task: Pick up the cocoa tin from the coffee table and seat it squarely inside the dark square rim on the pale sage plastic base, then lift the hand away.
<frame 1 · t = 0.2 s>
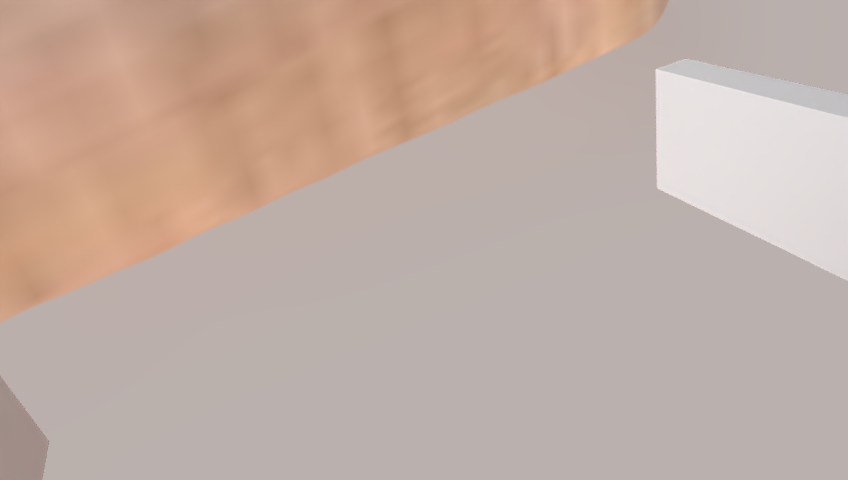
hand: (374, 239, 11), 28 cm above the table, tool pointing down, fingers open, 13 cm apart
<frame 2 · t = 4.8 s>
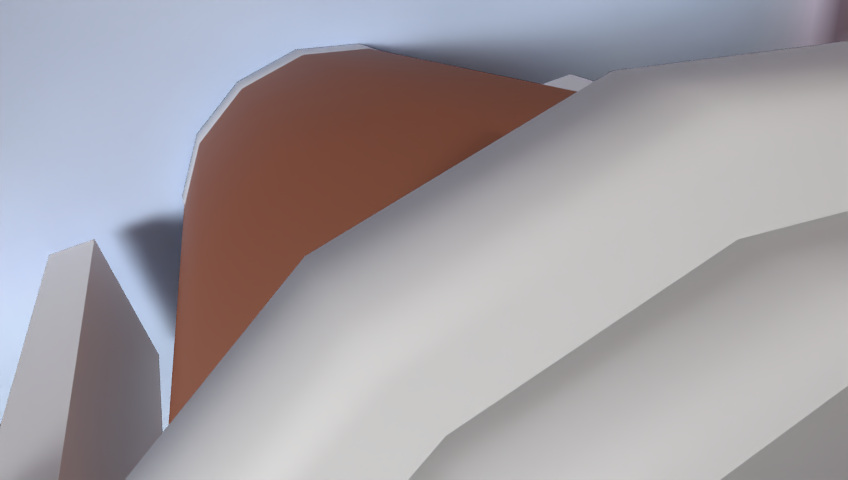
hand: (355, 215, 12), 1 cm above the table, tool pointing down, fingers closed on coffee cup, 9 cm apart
coffee cup: (339, 194, 13), on the table, touching gripper
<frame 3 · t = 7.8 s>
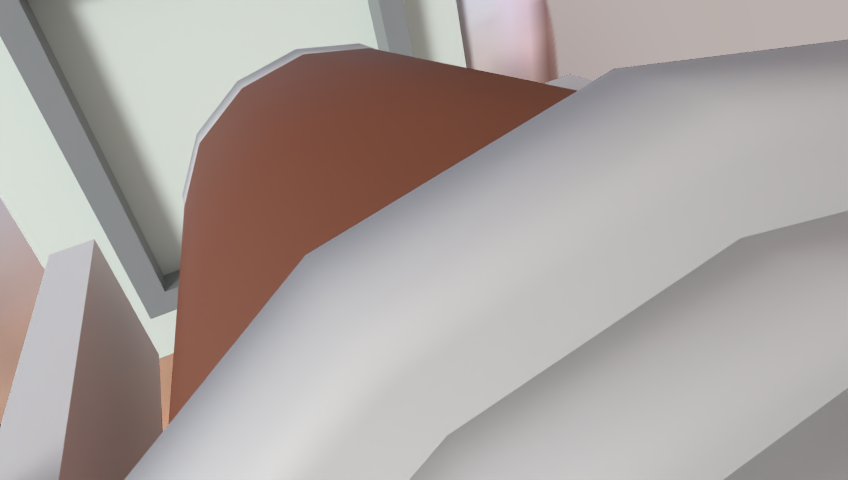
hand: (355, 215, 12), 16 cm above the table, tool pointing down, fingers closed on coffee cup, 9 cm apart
coffee cup: (339, 194, 13), point 15 cm above the table, touching gripper
square seat: (248, 103, 26), on the table
when the fingers open (3 cm above the table, at t = 10.8 s): coffee cup drops 2 cm, resting on square seat.
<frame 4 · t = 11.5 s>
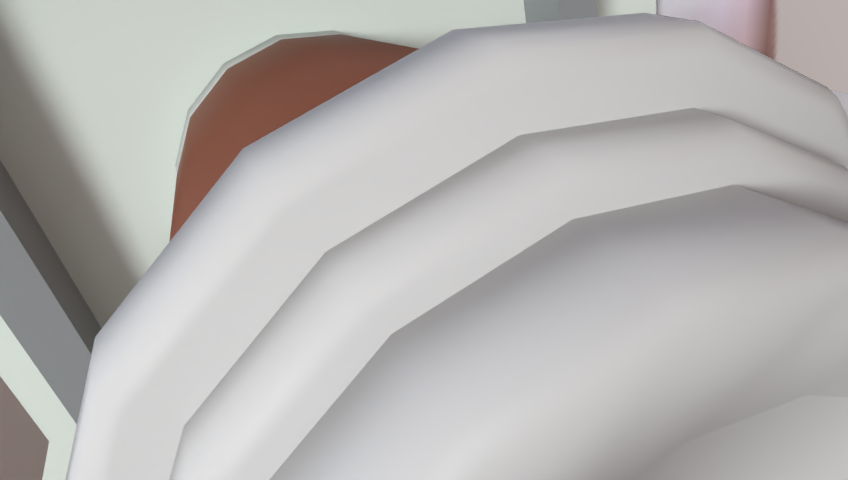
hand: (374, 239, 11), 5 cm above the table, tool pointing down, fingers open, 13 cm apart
coffee cup: (317, 167, 15), resting on square seat
square seat: (314, 163, 15), on the table
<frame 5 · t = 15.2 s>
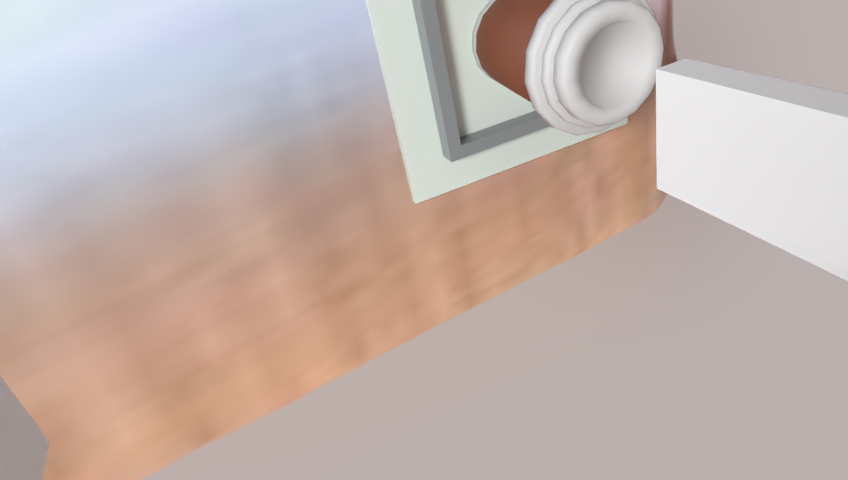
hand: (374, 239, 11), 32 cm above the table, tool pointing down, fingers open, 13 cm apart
coffee cup: (509, 37, 45), resting on square seat
square seat: (507, 37, 46), on the table
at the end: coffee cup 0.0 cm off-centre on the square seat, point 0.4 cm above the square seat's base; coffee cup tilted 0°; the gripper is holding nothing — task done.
